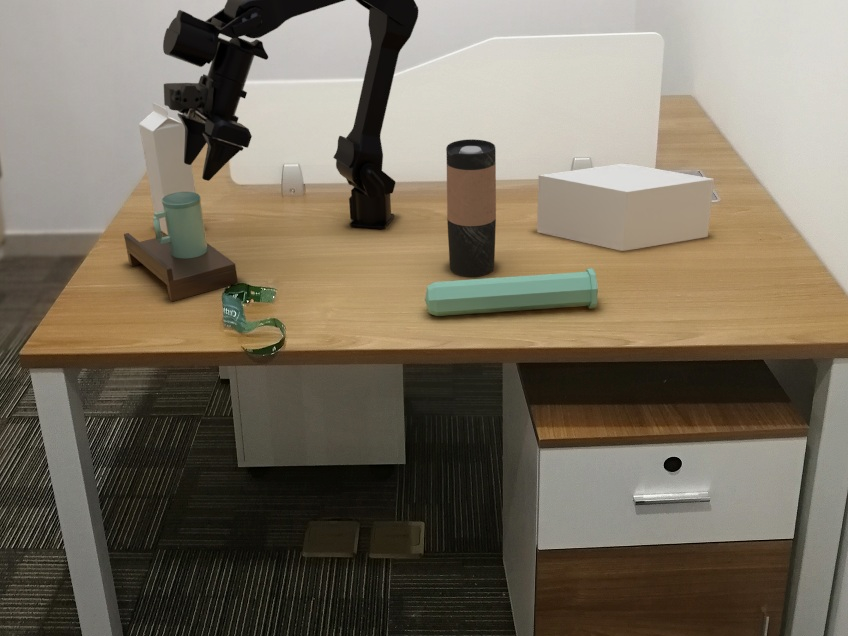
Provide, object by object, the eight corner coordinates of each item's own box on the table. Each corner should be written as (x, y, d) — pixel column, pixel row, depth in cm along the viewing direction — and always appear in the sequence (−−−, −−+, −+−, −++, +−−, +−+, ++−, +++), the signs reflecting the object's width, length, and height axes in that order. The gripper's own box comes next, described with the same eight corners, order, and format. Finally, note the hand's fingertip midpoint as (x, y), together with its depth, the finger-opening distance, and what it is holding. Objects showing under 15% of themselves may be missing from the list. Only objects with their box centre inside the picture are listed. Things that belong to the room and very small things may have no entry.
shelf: (191, 248, 173) (187, 218, 171) (238, 283, 161) (233, 251, 158) (129, 264, 168) (123, 233, 165) (172, 301, 155) (166, 269, 152)
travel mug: (501, 261, 166) (502, 141, 156) (487, 280, 160) (487, 156, 150) (457, 256, 168) (455, 137, 158) (441, 274, 162) (438, 152, 152)
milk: (170, 238, 178) (148, 112, 167) (156, 227, 182) (134, 105, 171) (202, 229, 181) (183, 105, 170) (187, 219, 185) (168, 98, 174)
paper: (538, 217, 183) (540, 161, 178) (703, 221, 180) (709, 165, 174) (535, 248, 170) (536, 189, 165) (711, 253, 167) (719, 194, 162)
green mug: (198, 241, 167) (190, 189, 162) (214, 252, 163) (206, 199, 158) (152, 253, 163) (143, 199, 159) (167, 265, 159) (157, 210, 154)
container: (424, 280, 145) (596, 268, 147) (422, 278, 151) (588, 267, 153) (426, 321, 146) (598, 309, 148) (425, 318, 152) (590, 306, 153)
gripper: (160, 48, 160) (131, 142, 164) (198, 71, 146) (165, 174, 150) (225, 71, 167) (195, 161, 171) (267, 96, 153) (233, 193, 157)
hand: (196, 171), depth 162 cm, fingers open, 9 cm apart
